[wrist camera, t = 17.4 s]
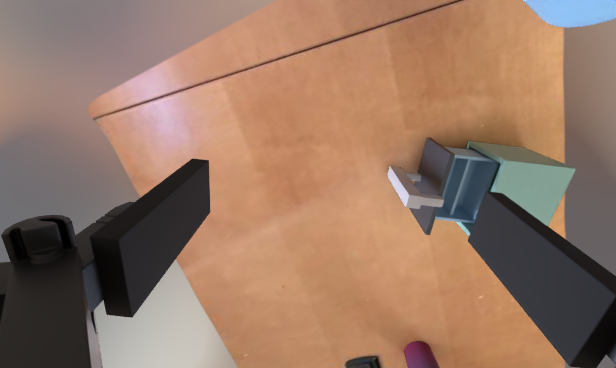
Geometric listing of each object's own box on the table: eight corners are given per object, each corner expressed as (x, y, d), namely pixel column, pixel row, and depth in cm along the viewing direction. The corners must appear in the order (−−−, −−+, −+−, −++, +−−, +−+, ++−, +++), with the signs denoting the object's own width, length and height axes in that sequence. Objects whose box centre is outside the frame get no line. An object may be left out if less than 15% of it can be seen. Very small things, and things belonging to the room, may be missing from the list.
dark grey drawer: (380, 203, 45) (396, 241, 35) (396, 133, 40) (419, 155, 31) (459, 212, 45) (496, 253, 35) (482, 144, 41) (532, 168, 31)
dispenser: (445, 209, 45) (473, 242, 37) (468, 140, 41) (505, 160, 33) (496, 215, 45) (536, 250, 37) (524, 147, 41) (576, 168, 33)
